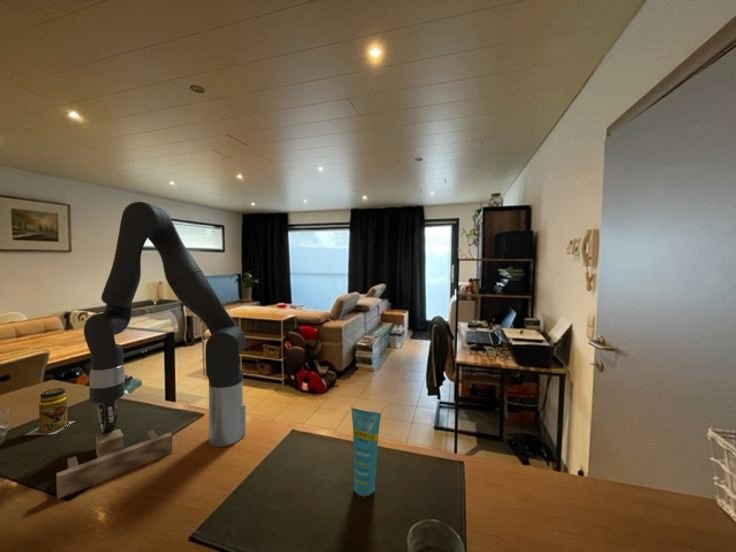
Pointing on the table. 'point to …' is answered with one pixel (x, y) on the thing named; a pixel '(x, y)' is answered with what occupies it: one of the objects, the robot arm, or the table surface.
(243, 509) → the table surface
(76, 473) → the wooden plank
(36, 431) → the condiment
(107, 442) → the block
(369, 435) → the tube
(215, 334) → the robot arm
